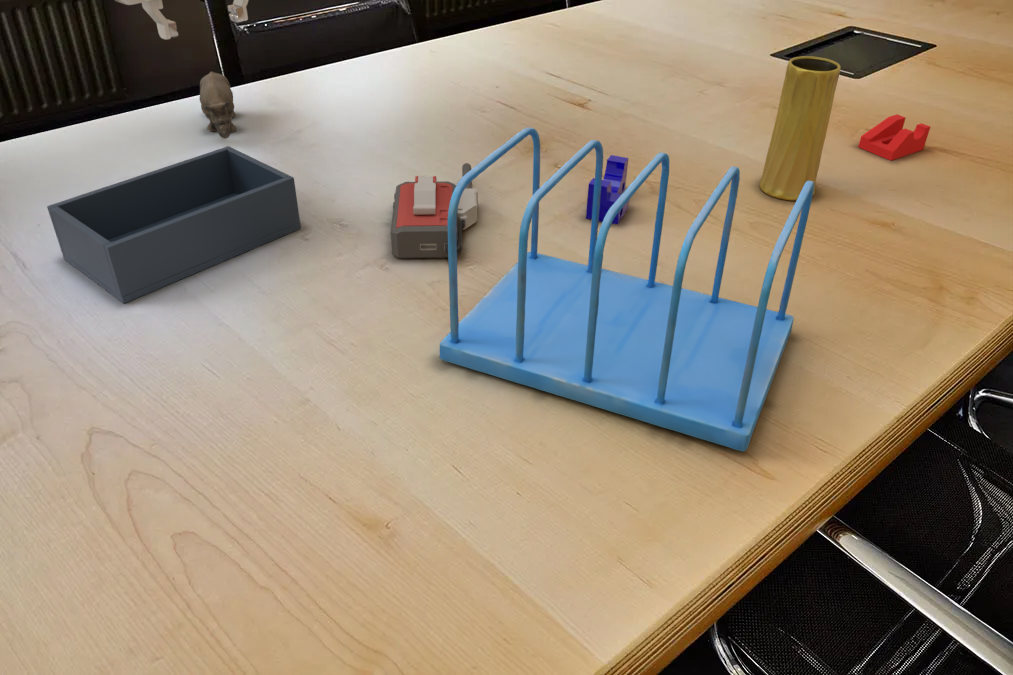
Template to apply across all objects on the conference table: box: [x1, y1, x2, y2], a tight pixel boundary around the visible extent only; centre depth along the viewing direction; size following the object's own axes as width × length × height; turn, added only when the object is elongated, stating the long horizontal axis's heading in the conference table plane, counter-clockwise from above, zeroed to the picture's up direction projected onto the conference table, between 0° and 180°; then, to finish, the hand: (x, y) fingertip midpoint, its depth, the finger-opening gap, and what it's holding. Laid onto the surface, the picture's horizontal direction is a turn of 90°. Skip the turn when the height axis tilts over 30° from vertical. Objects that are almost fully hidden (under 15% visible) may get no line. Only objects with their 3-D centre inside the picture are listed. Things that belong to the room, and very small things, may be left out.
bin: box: [46, 145, 302, 304], centre depth 83 cm, size 11×19×6 cm, turn 138°
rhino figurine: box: [199, 71, 238, 140], centre depth 107 cm, size 4×14×6 cm, turn 18°
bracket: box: [857, 113, 931, 161], centre depth 106 cm, size 6×5×3 cm
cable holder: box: [585, 154, 630, 226], centre depth 92 cm, size 8×4×4 cm, turn 158°
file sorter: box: [439, 126, 814, 452], centre depth 67 cm, size 25×17×15 cm
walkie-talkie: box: [390, 162, 479, 259], centre depth 89 cm, size 9×4×20 cm
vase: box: [759, 55, 841, 202], centre depth 93 cm, size 6×6×14 cm
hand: (205, 29), depth 102 cm, fingers open, 8 cm apart
